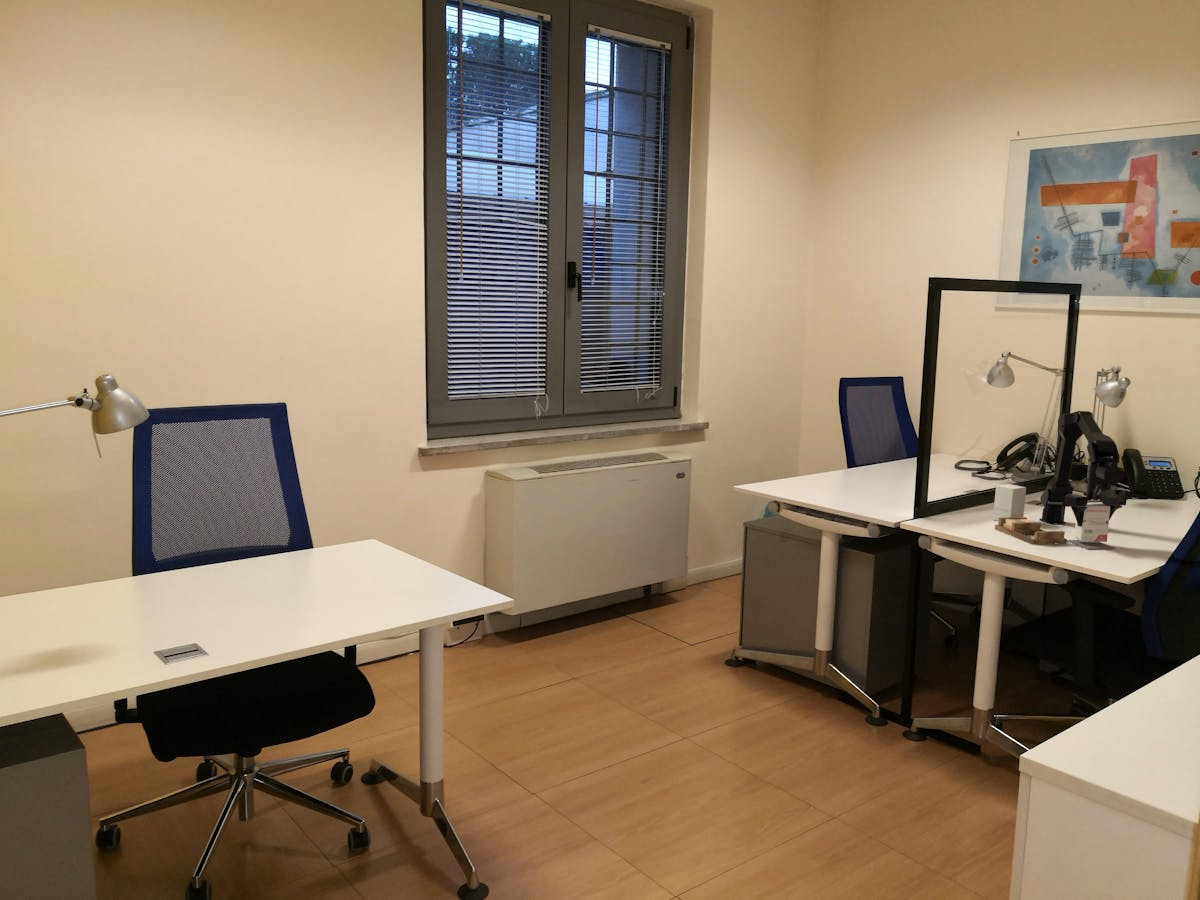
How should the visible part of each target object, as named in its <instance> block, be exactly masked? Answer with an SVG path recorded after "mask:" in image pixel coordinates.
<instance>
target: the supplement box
mask: <svg viewBox="0 0 1200 900" xmlns="http://www.w3.org/2000/svg"><path fill="white" fill-rule="evenodd" d="M1026 493H1027V487H1025V486H1020V485H1017V484H1011V483H1006V484H998V485H996V486H995V495H994V504H993V515H992V517H993V518H992V520H993V521H997V522H999V518H1000V517H1025V516H1024V515H1025V506H1026V505H1025V504H1026V495H1027V494H1026Z"/></svg>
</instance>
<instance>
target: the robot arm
mask: <svg viewBox="0 0 1200 900" xmlns="http://www.w3.org/2000/svg"><path fill="white" fill-rule="evenodd" d="M1093 416H1094V414H1093V412H1091V411H1090V410H1088V411H1087V410H1086V411H1085V410H1077V411H1074V412H1069V413H1063V414H1062V415H1060V416H1059V417H1058V419H1057V430H1058V432H1059V435H1060V437H1061V439H1060V444H1059V450H1058V455H1057V459H1056V466H1055V471H1054V476H1053V477H1052V478H1051V479H1050V480H1049V481H1048V483H1047V485H1046V488H1045V489H1044V491H1043V493H1042V495H1041V496H1040V499H1039V502H1040V505H1043V509H1042V515H1041V518H1039V521H1040V522H1041V521H1042V522H1044V523H1047V524H1050V525H1066V524H1067V521H1065V513H1066V512H1065V511H1066V507H1068V508H1071V510H1072V512H1073V515H1074V517H1075V521H1076V520H1077V523H1078V526H1082V523H1083V517H1084V511H1085V510H1086V509H1087V508H1088V507H1085V506H1086V505H1087V503H1103V504H1104V505H1106V506H1110V515H1109V521H1110V520H1111V519H1112V518H1113V517H1112V516H1113V515H1114V513H1115V512H1116V511H1118V510H1119V509H1122V508H1123V506H1127V498H1126V491H1125V490H1123V489H1117V490H1115V489H1112V486H1114V485H1118V484H1119V483H1120V482H1122V480H1123V478H1124V473H1123V471H1122V469H1121V468H1119V467H1118V465H1119V464H1120V463H1121V462H1120V459H1121V457H1120V454H1119V451H1118V450H1119V449H1118V447H1117V443H1116V442H1115V441H1114V439H1112V437H1110V436H1109V435H1107V434H1104V433H1103V432H1102V429H1101V428H1100V427H1099V425H1098V423H1097V422H1096V419H1095V418H1094V417H1093ZM1083 435H1084V437H1085V439H1086V440H1087V446H1086V449H1087V452H1088V453H1087V454H1088V455H1089V459H1088V462H1089V468H1088V469H1089V470H1088V477H1087V479H1085V480H1084V483H1086V491H1083V495H1082V494H1078V493H1073V492H1074V487H1073V486H1072V484H1071V482H1070V477H1071V471H1072V466H1073V461H1074V457H1075V452H1076V451H1075V450H1076V448H1077V447H1076V446H1077V441H1078V440H1079V439H1081V437H1082V436H1083Z"/></svg>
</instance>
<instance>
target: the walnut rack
mask: <svg viewBox="0 0 1200 900" xmlns="http://www.w3.org/2000/svg"><path fill="white" fill-rule="evenodd" d="M997 522H998V523H997V524H994V530H995V531H999V532H1000V533H1003V532H1004V533H1003V534H1006V535H1007V536H1010V535H1011V537H1014V538H1015V539H1018V540H1020V541H1023V542H1026V543H1028V544H1030V545H1032V544H1039V545H1056V544H1055V543H1058V544H1057V545H1060V544H1059V543H1068V542H1067V540H1068V539H1067V538H1066V537H1065V531H1063V530H1049V531H1048V530H1044V529H1042V528H1041V527H1042V523H1041V521H1032V520H1030V519H1028V517H1025V516H1023V517H1000V518H999V521H997ZM1030 536H1034V537H1030Z"/></svg>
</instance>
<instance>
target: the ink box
mask: <svg viewBox="0 0 1200 900" xmlns="http://www.w3.org/2000/svg"><path fill="white" fill-rule="evenodd" d="M1085 507H1088V508H1087V509H1086V510H1085V511H1084V517H1083V523H1082V526H1078V523H1077V520H1076V519H1075V526H1074V535H1073V536H1074V539H1075V540H1080V541H1082V542H1101V543H1103V542H1104V543H1106V542H1108V533H1109V523H1110V520H1109V515H1110V506H1106V505H1104V504H1103V503H1102V502H1097V503H1087V505H1086V506H1085Z"/></svg>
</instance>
